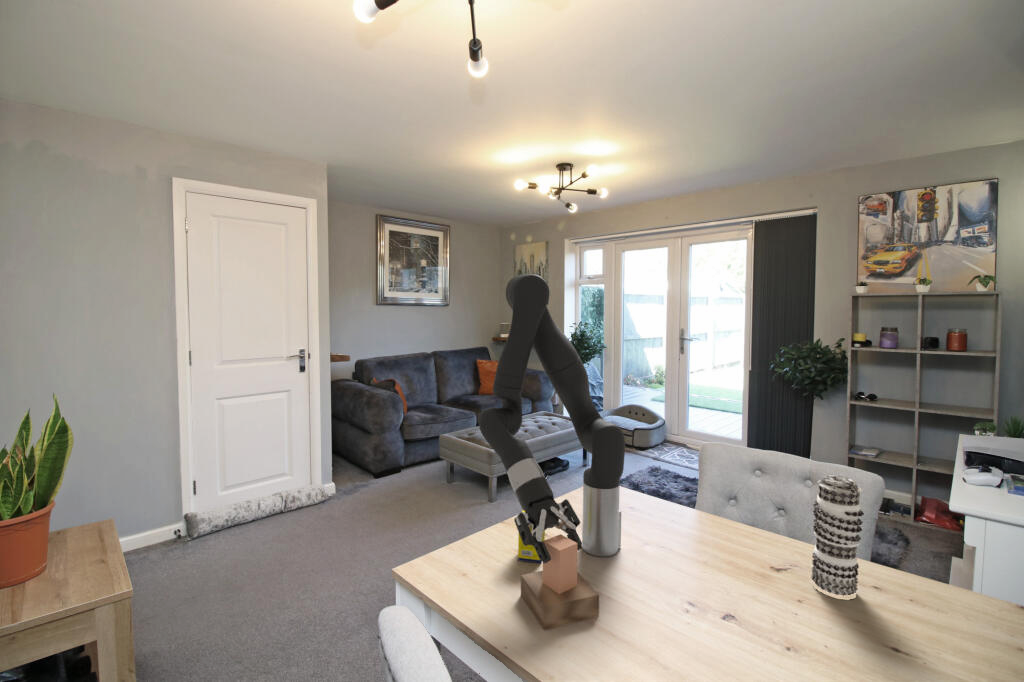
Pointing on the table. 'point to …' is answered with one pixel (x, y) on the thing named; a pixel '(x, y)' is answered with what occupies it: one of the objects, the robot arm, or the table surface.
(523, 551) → the supplement box
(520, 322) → the robot arm
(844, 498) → the decorative candle
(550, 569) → the terracotta block
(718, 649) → the table surface
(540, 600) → the walnut block
